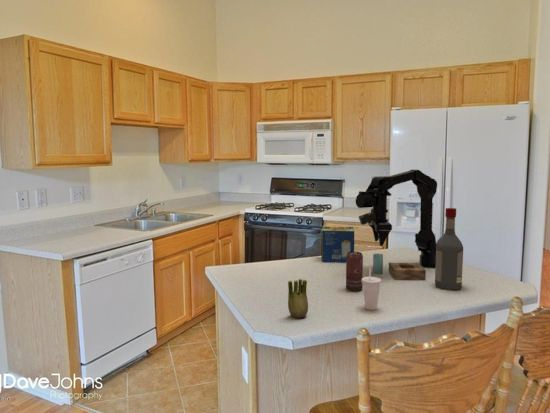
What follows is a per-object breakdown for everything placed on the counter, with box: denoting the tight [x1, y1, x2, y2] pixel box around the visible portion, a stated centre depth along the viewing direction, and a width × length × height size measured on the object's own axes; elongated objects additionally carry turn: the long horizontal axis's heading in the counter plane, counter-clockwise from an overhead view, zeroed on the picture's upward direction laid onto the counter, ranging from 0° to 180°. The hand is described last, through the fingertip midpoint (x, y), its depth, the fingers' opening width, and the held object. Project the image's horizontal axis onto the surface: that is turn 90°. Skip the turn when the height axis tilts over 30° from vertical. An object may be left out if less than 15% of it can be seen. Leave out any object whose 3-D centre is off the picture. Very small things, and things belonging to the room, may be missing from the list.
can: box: [345, 250, 364, 293], centre depth 154 cm, size 6×6×14 cm
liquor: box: [434, 207, 464, 291], centre depth 155 cm, size 9×9×30 cm
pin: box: [372, 253, 384, 275], centre depth 175 cm, size 4×4×8 cm
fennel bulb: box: [287, 278, 309, 319], centre depth 128 cm, size 6×5×12 cm
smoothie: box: [362, 266, 382, 311], centre depth 135 cm, size 6×6×14 cm
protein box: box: [321, 226, 355, 264], centre depth 197 cm, size 10×15×16 cm
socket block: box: [388, 262, 427, 281], centre depth 171 cm, size 12×12×4 cm
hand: (378, 243), depth 173 cm, fingers open, 9 cm apart
